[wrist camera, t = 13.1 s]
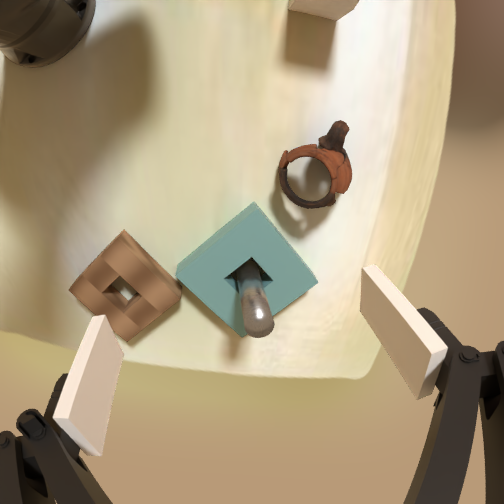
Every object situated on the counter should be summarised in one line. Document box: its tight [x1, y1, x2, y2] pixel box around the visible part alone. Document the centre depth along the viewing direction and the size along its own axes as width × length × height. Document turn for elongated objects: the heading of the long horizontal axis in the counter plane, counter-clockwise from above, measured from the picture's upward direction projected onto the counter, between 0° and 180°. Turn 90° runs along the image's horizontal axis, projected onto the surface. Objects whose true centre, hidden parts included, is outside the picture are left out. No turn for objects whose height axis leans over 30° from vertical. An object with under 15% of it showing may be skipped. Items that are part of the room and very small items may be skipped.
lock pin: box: [236, 259, 274, 338], centre depth 41 cm, size 3×3×14 cm
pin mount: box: [69, 230, 182, 342], centre depth 44 cm, size 12×12×4 cm
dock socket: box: [175, 202, 318, 337], centre depth 45 cm, size 14×14×4 cm
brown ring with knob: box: [279, 120, 352, 209], centre depth 39 cm, size 12×10×8 cm
